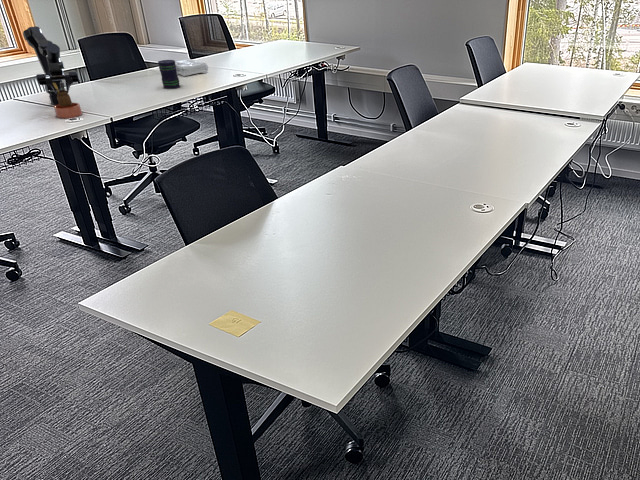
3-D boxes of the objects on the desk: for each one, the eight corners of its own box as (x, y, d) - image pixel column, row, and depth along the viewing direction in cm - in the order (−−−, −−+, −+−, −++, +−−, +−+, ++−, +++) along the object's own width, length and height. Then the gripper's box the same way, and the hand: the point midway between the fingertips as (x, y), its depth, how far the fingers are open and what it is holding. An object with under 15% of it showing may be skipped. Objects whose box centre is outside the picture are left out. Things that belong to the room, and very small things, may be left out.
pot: (75, 111, 302) (72, 101, 299) (86, 114, 296) (83, 104, 293) (52, 115, 294) (49, 106, 291) (64, 119, 288) (60, 109, 285)
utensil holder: (75, 104, 294) (67, 80, 288) (66, 107, 289) (58, 83, 283) (65, 103, 295) (57, 79, 289) (56, 106, 290) (48, 82, 284)
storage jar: (164, 89, 342) (158, 63, 334) (162, 86, 350) (157, 60, 342) (181, 88, 346) (175, 62, 338) (179, 84, 353) (174, 59, 345)
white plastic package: (189, 66, 399) (186, 55, 395) (209, 72, 383) (207, 60, 379) (163, 71, 388) (160, 59, 384) (183, 77, 372) (181, 64, 367)
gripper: (29, 57, 279) (37, 85, 277) (71, 54, 286) (79, 81, 284) (36, 71, 289) (43, 98, 287) (76, 67, 296) (83, 94, 294)
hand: (62, 92), depth 288 cm, fingers closed on utensil holder, 5 cm apart
